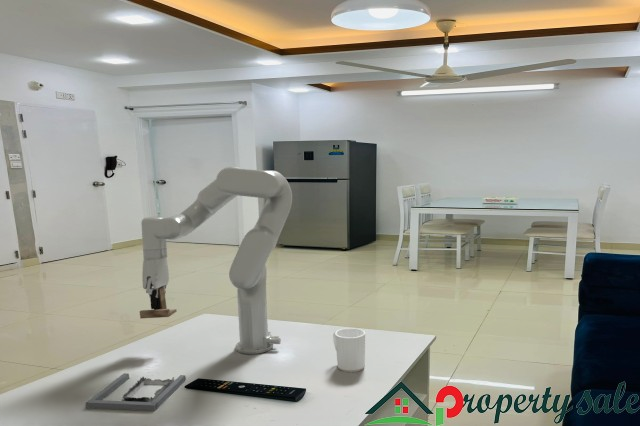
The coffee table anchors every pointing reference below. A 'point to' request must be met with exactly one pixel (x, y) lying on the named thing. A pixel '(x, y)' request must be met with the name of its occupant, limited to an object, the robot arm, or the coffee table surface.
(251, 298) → the robot arm
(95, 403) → the bay
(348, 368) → the mug
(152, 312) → the tan l-shaped bracket
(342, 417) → the coffee table surface
